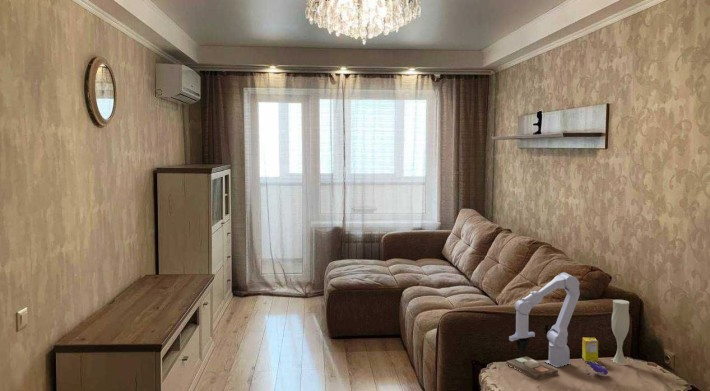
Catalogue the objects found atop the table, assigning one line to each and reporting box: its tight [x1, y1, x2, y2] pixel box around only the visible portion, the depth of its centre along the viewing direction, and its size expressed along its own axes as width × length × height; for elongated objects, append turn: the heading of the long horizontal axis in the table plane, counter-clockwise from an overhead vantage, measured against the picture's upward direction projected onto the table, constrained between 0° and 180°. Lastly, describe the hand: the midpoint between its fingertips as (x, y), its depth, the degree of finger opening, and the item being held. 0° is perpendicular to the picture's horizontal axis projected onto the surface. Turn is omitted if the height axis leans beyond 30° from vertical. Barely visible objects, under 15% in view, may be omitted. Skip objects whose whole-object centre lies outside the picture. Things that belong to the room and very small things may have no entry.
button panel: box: [505, 356, 559, 381], centre depth 267 cm, size 13×20×2 cm, turn 27°
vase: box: [611, 299, 630, 363], centre depth 274 cm, size 9×8×30 cm
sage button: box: [514, 357, 527, 364], centre depth 272 cm, size 4×4×2 cm
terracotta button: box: [535, 367, 549, 373], centre depth 261 cm, size 4×4×2 cm
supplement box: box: [581, 336, 599, 363], centre depth 277 cm, size 6×6×11 cm
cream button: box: [525, 359, 540, 368], centre depth 267 cm, size 4×4×2 cm
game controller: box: [584, 358, 609, 381], centre depth 260 cm, size 10×8×10 cm
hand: (521, 353), depth 272 cm, fingers closed
